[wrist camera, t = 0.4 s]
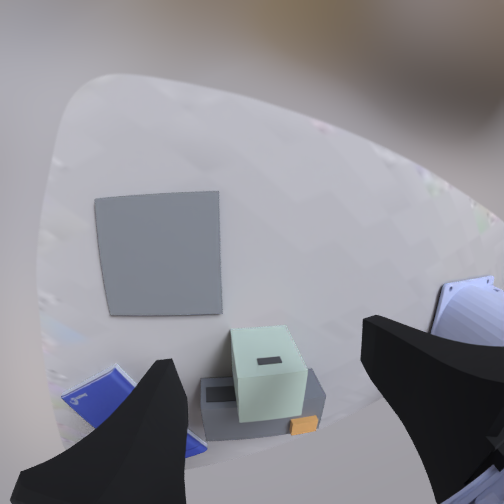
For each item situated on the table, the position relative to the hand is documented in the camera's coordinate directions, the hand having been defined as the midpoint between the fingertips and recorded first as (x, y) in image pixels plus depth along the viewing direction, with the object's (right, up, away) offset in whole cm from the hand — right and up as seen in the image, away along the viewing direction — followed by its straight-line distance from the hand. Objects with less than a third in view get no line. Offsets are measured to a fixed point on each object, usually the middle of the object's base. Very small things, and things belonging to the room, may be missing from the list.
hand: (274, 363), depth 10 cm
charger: (0, -3, +11) cm, 11 cm away
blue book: (-12, -12, +12) cm, 21 cm away
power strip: (0, -8, +12) cm, 14 cm away
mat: (-7, +4, +8) cm, 11 cm away
